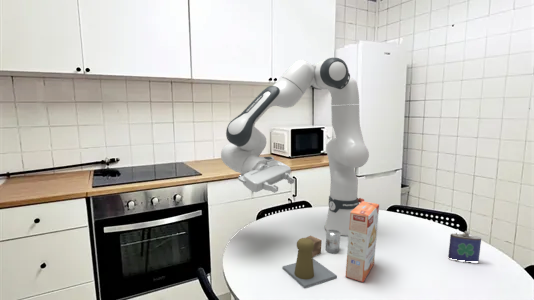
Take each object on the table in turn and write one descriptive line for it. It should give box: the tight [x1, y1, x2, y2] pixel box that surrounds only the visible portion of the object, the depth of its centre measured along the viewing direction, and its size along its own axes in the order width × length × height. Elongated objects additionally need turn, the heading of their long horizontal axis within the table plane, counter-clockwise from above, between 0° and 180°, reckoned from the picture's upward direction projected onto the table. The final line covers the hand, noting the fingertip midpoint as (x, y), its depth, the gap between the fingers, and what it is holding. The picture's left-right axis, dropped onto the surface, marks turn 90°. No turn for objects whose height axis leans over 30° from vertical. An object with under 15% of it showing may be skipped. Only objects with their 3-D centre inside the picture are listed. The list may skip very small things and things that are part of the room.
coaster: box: [282, 258, 338, 289], centre depth 95 cm, size 12×12×1 cm
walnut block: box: [305, 235, 323, 258], centre depth 108 cm, size 5×5×5 cm
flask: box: [447, 230, 482, 262], centre depth 104 cm, size 9×3×11 cm, turn 74°
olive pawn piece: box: [294, 237, 314, 279], centre depth 92 cm, size 6×6×11 cm
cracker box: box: [345, 200, 380, 283], centre depth 96 cm, size 14×6×21 cm, turn 148°
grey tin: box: [324, 229, 341, 255], centre depth 110 cm, size 5×5×7 cm
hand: (285, 185), depth 104 cm, fingers open, 8 cm apart
